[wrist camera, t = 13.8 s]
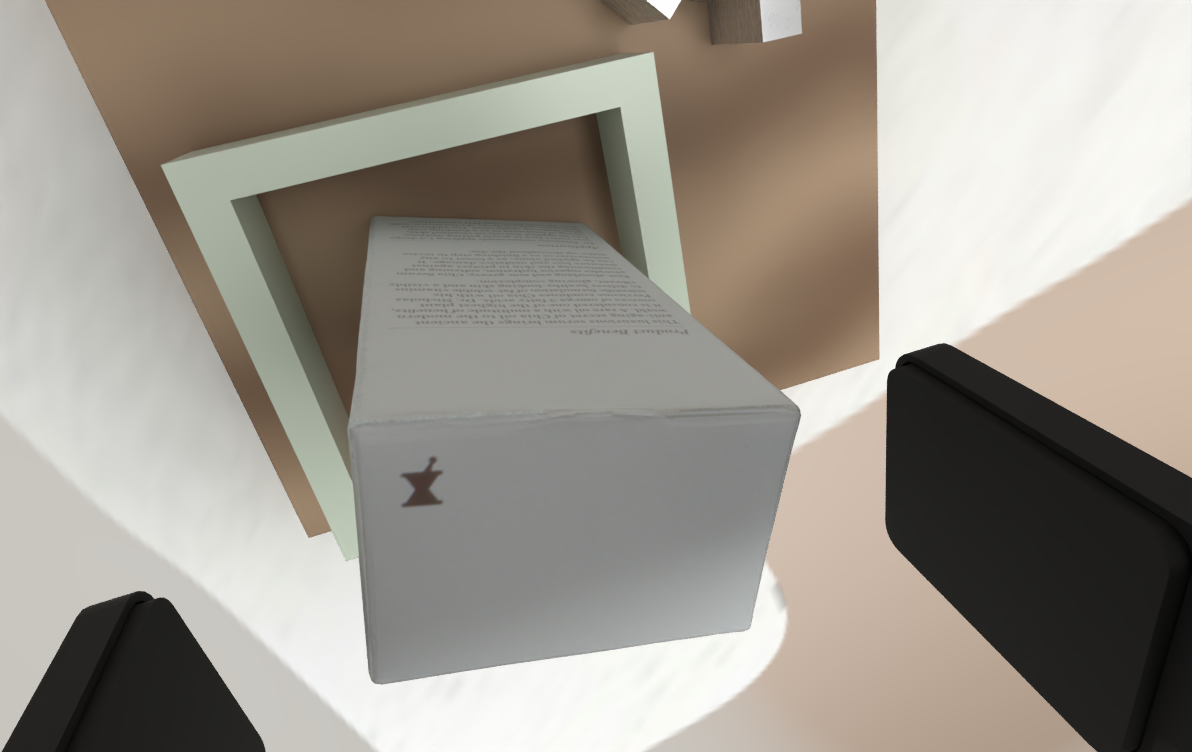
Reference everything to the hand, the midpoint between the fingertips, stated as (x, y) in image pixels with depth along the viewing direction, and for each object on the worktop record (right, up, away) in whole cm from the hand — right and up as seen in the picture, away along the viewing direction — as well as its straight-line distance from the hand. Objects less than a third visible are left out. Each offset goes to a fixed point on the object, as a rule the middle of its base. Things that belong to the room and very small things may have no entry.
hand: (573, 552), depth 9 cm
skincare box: (-3, +5, +11) cm, 13 cm away
